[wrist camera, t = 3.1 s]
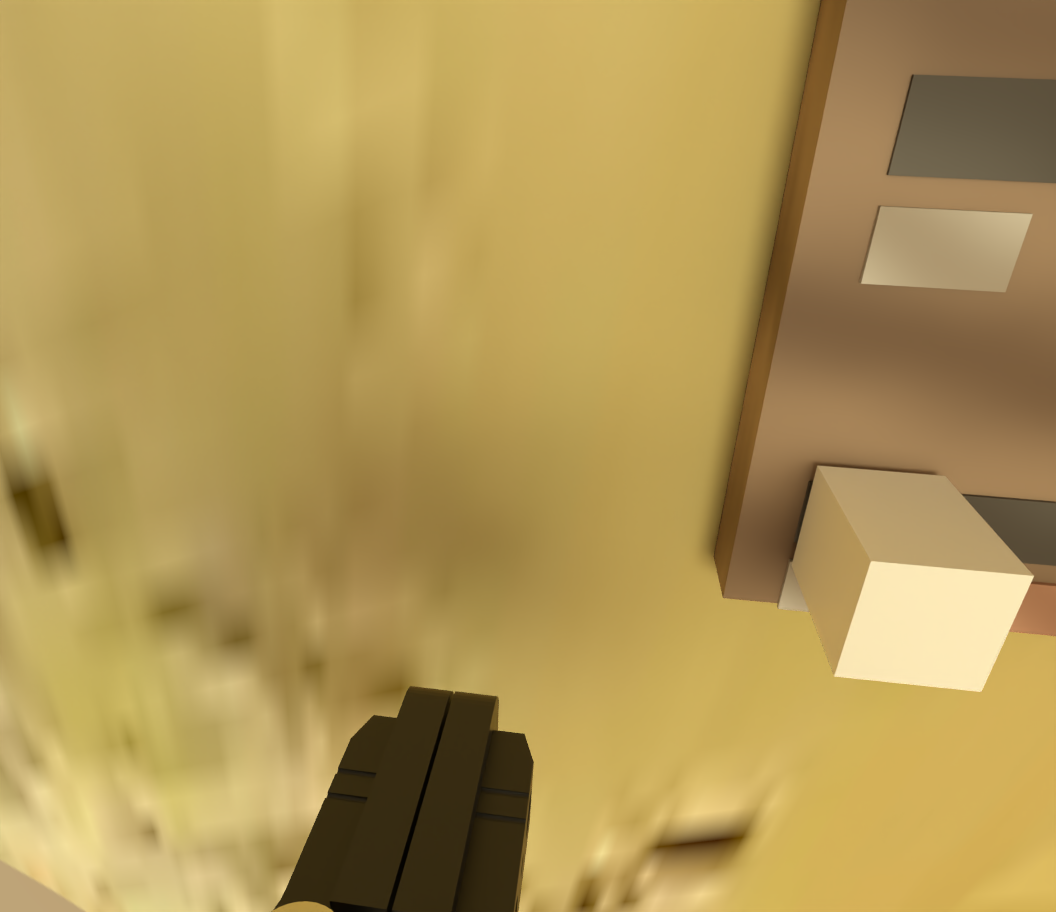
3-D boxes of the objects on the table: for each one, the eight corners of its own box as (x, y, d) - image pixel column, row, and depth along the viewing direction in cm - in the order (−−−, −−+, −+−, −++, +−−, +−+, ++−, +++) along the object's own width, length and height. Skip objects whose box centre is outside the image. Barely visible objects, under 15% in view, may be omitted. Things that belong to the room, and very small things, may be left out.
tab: (817, 465, 17) (870, 561, 13) (945, 475, 17) (1034, 575, 13) (791, 565, 18) (834, 676, 15) (909, 576, 18) (981, 691, 15)
